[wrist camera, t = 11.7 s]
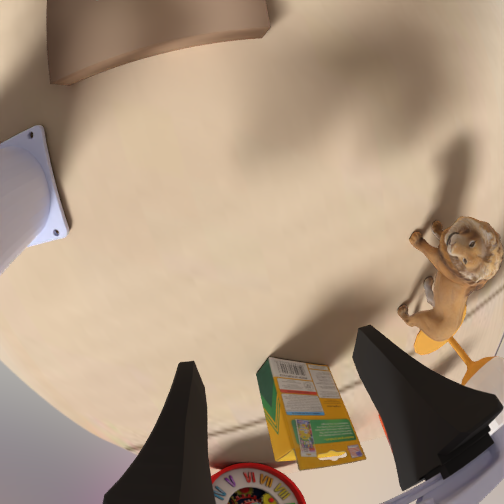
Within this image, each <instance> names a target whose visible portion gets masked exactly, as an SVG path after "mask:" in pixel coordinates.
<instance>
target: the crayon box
mask: <svg viewBox="0 0 504 504" xmlns="http://www.w3.org/2000/svg"><path fill="white" fill-rule="evenodd" d="M256 376H257V380H258V385H259V390H260V394H261V399H262V404H263V408H264V413H265V417H266V422H267V426H268V431H269V435H270V440H271V444H272V448H273V453H274V457H275V461H277V462H278V461H292V460H297V464H298V469H299V470H300V471H301V470H309V469H317V468H324V467H330V466H336V465H342V464H347V463H352V462H357V461H361V460H366V457H365V454H364V452H363V449H362V447H361V445H360V442H359V439H358V437H357V435H356V432H355V430H354V427H353V425H352V422H351V420H350V417H349V415H348V412H347V410H346V408H345V405H344V403H343V400H342V398H341V396H340V393H339V391H338V388H337V386H336V383H335V381H334V379H333V376H332V374H331V371H330V369H329V367H328V366H327V365H317V364H310V363H303V362H296V361H290V360H283V359H277V358H274V357H269V358H268V359H267V360H266V362H265V363H264V365H263V366H262V367H261V369H260V370H259V371H258V372H257V374H256ZM345 452H346V453H347V456H346V457H344V458H339V459H338V460H337V461H332V460H319V459H318V458H323V457H331V456H339V455H342V454H344V453H345Z"/></svg>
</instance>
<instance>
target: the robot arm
mask: <svg viewBox="0 0 504 504" xmlns="http://www.w3.org/2000/svg"><path fill="white" fill-rule="evenodd" d="M31 132H33V138H31ZM55 229H57V230H58V231H59V234H58V233H56V230H55ZM68 234H69V227H68V224H67V221H66V218H65V214H64V211H63V208H62V205H61V201H60V198H59V194H58V191H57V187H56V183H55V179H54V175H53V171H52V167H51V162H50V158H49V153H48V148H47V143H46V138H45V132H44V128H43V126H42V125H36V126H33V127H31V128H29V129H27V130H25V131H23V132H21V133H19V134H17V135H15V136H13V137H12V138H10V139H8V140H6V141H4V142H2V143H1V144H0V276H1V274H2V273H3V272H4V271H5V270H6V269H7V268H8V266H9V265H10V264H11V263H12V262H13V261H14V260H15V259H16V258H17V257H18V256H19V255H20V254H21V252H22V251H23V250H24V249H25V248H26V247H29V246H33V245H37V244H41V243H45V242H49V241H53V240H57V239H61V238H64V237H66V236H67V235H68ZM352 358H353V361H354V363H355V366H356V369H357V371H358V374H359V376H360V378H361V380H362V382H363V384H364V386H365V388H366V390H367V392H368V393H369V395H370V397H371V399H372V401H373V403H374V405H375V407H376V409H377V410H378V412H379V415H380V417H381V419H382V422H383V424H384V427H385V430H386V433H387V436H388V439H389V442H390V445H391V448H392V452H393V455H394V459H395V463H396V468H397V473H398V478H399V483H400V487H401V489H402V491H404V490H406V489H408V488H410V487H412V486H414V485H416V484H418V483H419V482H421V481H423V480H425V482H424V483H422V484H420V485H418V486H416V487H414V488H413V489H411V490H409V491H407V492H405V493H403V494H401V495H399V496H396V497H395V498H392V499H390V500H388V501H386V502H383V503H381V504H409V503H410V502H412V501H414V500H416V499H417V501H416V504H478V503H479V502H480V501H482V500H483V498H485V496H487V495H488V494H489V493H490V492H491V491H492V490H493V489H494V488H495V487H496V486H497V484H499V483H500V482H501V481H502V480H503V478H504V425H502V426H501V427H500V428H499V429H498V430H497V431H496V432H494V433H493V434H492V435H491V436H490V434H489V433H488V432H490V431H491V428H490V427H489V424H490V423H491V422H492V421H493V420H494V419H495V418H496V417H497V416H498V415H499V414H500V413H501V412H502V410H503V408H504V407H503V405H502V404H501V402H500V401H499V399H498V398H497V396H496V395H495V394H491V393H487V392H482V391H479V390H475V389H472V388H469V387H466V386H464V385H461V384H459V383H456V382H454V381H452V380H450V379H447V378H445V377H443V376H441V375H440V374H438V373H436V372H434V371H432V370H431V369H429V368H427V367H426V366H424V365H423V364H421V363H420V362H418V361H417V360H415V359H414V358H412V357H411V356H409V355H408V354H407V353H406V352H404V351H403V350H402V349H400V348H399V347H398V346H396V345H395V344H394V343H393V342H391V341H390V340H389V339H388V338H386V337H385V336H384V335H383V334H381V333H380V332H379V331H378V330H376V329H375V328H374V327H373V326H371V325H368V326H364V327H361V328H359V329H358V334H357V338H356V343H355V348H354V352H353V356H352ZM103 504H216V501H215V496H214V491H213V486H212V480H211V474H210V467H209V460H208V435H207V402H206V394H205V387H204V385H203V382H202V380H201V377H200V375H199V372H198V370H197V367H196V365H195V362H194V361H189V362H180V363H179V364H178V367H177V371H176V374H175V377H174V380H173V383H172V386H171V389H170V392H169V394H168V397H167V399H166V402H165V405H164V407H163V409H162V411H161V414H160V416H159V418H158V420H157V422H156V424H155V426H154V428H153V430H152V432H151V434H150V436H149V438H148V439H147V441H146V443H145V445H144V446H143V448H142V449H141V451H140V452H139V454H138V456H137V457H136V459H135V460H134V461H133V463H132V464H131V465H130V467H129V468H128V469H127V471H126V472H125V473H124V474H123V476H122V477H121V478H120V479H119V480H118V481H117V482H116V483H115V484H114V486H113V487H112V488H111V489H110V490H109V491H108V492H107V493H106V494H105V495H104V500H103Z"/></svg>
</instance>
